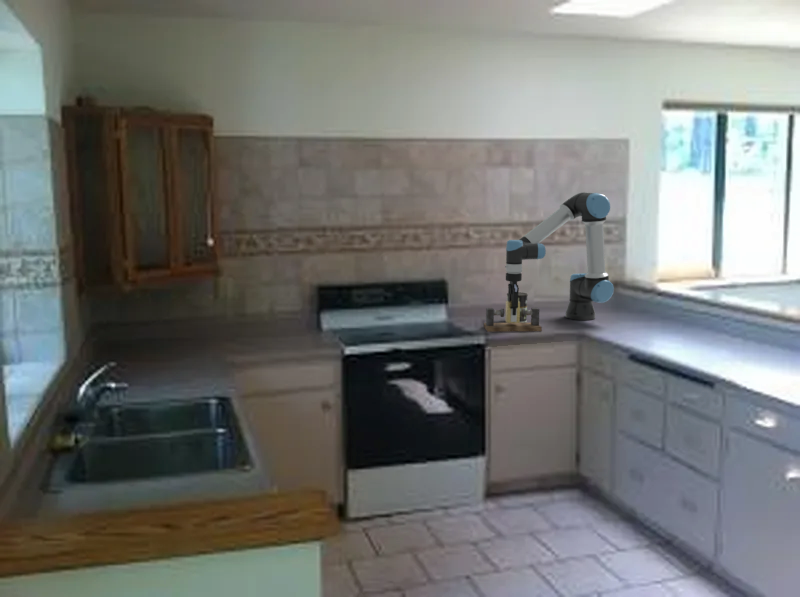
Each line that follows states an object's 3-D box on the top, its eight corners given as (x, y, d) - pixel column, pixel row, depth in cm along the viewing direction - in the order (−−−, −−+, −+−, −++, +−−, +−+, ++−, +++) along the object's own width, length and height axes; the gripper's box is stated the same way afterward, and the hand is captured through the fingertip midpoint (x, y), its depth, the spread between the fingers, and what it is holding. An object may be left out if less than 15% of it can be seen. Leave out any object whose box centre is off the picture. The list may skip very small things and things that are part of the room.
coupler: (517, 321, 387) (518, 300, 385) (519, 322, 383) (520, 302, 381) (505, 321, 387) (505, 300, 385) (507, 322, 382) (507, 302, 381)
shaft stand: (536, 326, 392) (536, 306, 390) (541, 331, 381) (542, 310, 379) (483, 326, 390) (484, 306, 388) (487, 331, 379) (487, 310, 377)
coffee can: (525, 319, 409) (526, 292, 407) (528, 323, 399) (528, 295, 397) (505, 319, 410) (505, 292, 407) (507, 323, 399) (508, 295, 397)
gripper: (502, 270, 389) (501, 317, 393) (509, 275, 372) (508, 324, 376) (517, 270, 389) (516, 317, 393) (525, 275, 372) (524, 324, 376)
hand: (512, 320), depth 385 cm, fingers closed on coupler, 4 cm apart
